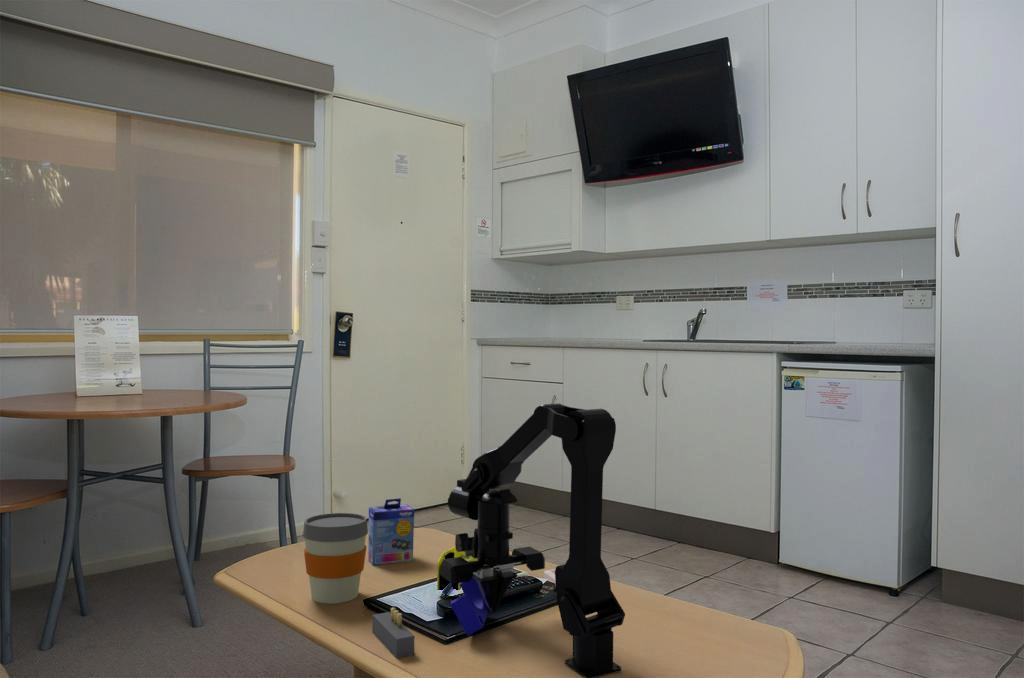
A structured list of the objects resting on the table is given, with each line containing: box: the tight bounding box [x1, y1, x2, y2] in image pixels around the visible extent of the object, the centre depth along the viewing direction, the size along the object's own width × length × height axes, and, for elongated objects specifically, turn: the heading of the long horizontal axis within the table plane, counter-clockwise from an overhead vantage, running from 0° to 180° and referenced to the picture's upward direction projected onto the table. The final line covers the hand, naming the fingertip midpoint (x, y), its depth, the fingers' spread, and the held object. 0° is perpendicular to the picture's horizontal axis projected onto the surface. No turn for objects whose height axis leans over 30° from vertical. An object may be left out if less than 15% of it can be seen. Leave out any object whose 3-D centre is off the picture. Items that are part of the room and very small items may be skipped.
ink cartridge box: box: [367, 498, 415, 566], centre depth 171 cm, size 10×6×14 cm, turn 115°
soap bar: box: [543, 568, 556, 583], centre depth 155 cm, size 5×9×2 cm, turn 22°
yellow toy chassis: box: [436, 546, 477, 591], centre depth 153 cm, size 16×6×8 cm, turn 156°
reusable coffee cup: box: [302, 512, 369, 604], centre depth 146 cm, size 13×13×15 cm
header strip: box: [371, 607, 415, 659], centre depth 123 cm, size 12×3×5 cm, turn 29°
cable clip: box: [449, 577, 490, 637], centre depth 131 cm, size 12×4×6 cm, turn 175°
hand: (493, 611), depth 133 cm, fingers closed
